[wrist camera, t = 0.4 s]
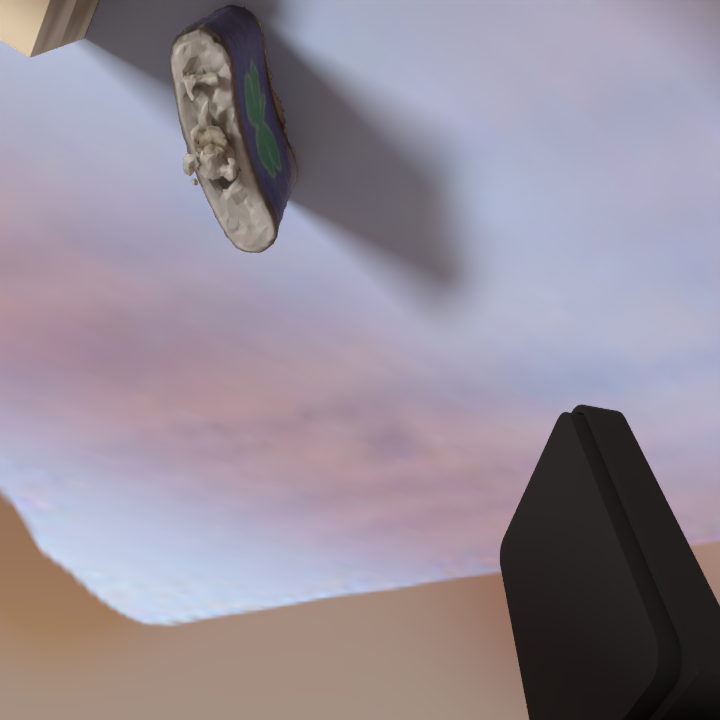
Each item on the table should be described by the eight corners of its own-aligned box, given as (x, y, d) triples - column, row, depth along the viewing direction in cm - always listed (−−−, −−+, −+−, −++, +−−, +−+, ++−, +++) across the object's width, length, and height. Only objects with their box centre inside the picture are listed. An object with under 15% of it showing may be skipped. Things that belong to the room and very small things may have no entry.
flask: (304, 185, 36) (278, 268, 27) (252, 195, 37) (210, 280, 28) (257, -3, 32) (206, 22, 23) (198, 11, 32) (125, 40, 23)
